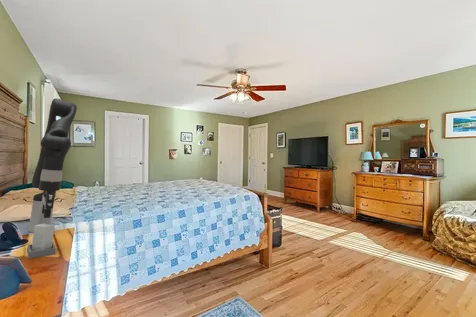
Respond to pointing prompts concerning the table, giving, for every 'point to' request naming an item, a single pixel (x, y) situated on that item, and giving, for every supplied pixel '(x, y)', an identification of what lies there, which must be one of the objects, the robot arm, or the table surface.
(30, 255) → the frame
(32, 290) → the table surface
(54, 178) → the robot arm
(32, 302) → the table surface
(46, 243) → the skincare box
